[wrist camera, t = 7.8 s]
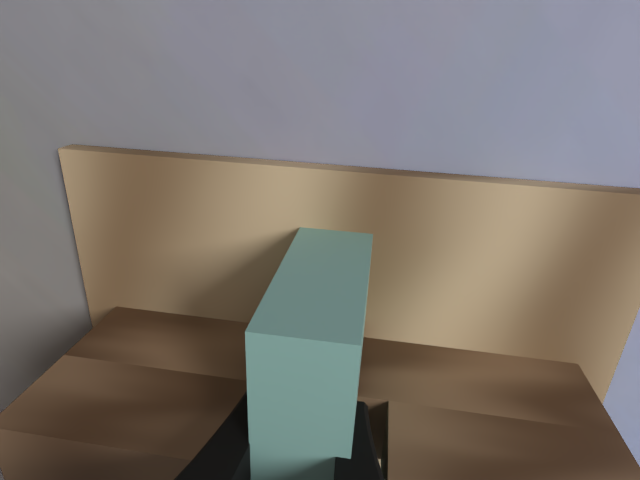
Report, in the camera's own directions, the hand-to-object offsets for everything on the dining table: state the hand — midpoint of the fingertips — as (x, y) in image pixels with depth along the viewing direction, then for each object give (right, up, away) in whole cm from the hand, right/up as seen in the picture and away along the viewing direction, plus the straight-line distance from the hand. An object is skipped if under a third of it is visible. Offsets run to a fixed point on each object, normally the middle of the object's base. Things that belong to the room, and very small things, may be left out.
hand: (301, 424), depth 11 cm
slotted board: (+1, +1, +3) cm, 4 cm away
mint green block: (+1, +1, +3) cm, 3 cm away
